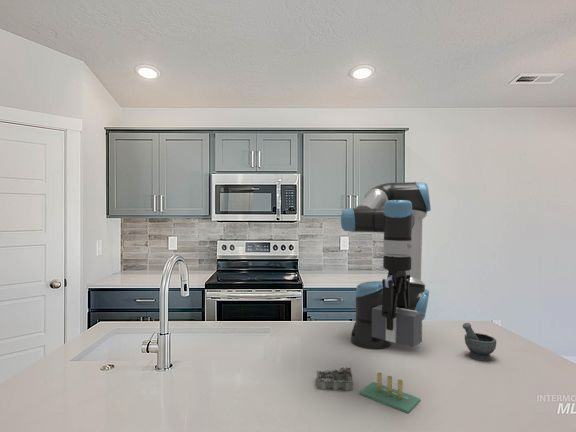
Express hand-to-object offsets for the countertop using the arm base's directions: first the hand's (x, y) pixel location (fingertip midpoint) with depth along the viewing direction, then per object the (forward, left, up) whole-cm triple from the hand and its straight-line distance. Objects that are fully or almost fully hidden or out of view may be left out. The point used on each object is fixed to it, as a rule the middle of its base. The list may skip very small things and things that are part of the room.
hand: (396, 338), depth 98 cm
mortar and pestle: (+11, +44, -16) cm, 48 cm away
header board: (0, -3, -16) cm, 16 cm away
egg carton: (-15, -7, -16) cm, 23 cm away
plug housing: (0, 0, 0) cm, 0 cm away
